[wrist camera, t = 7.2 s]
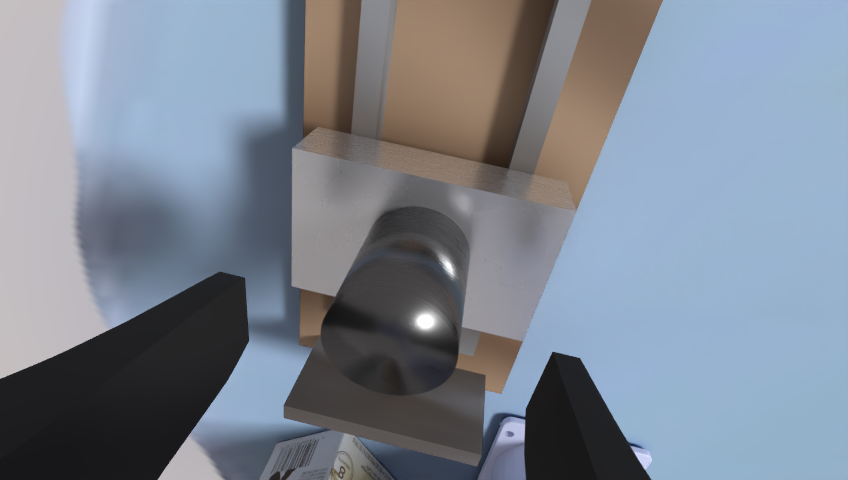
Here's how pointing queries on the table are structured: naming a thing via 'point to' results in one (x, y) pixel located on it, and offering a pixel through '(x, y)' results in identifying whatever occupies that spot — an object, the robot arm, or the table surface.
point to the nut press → (458, 154)
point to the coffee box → (323, 459)
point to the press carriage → (417, 253)
